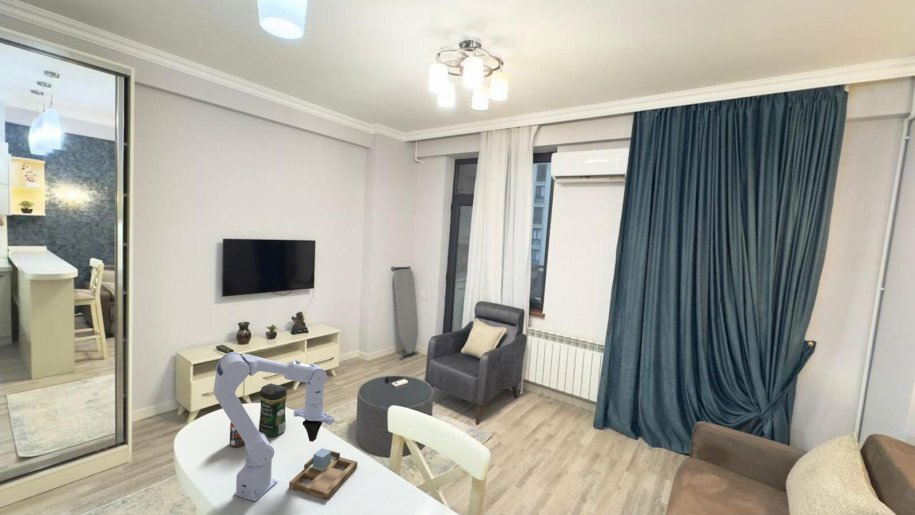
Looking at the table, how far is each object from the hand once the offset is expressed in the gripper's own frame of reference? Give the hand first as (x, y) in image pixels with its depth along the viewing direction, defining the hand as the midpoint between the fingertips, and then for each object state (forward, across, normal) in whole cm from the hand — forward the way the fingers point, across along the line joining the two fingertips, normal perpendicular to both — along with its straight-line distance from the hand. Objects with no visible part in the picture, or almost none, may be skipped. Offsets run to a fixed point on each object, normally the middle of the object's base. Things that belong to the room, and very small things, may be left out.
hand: (312, 440), depth 130 cm
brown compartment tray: (+10, -7, +2) cm, 12 cm away
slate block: (+8, -4, 0) cm, 9 cm away
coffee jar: (+10, +28, -13) cm, 32 cm away
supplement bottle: (+10, +33, -2) cm, 35 cm away
